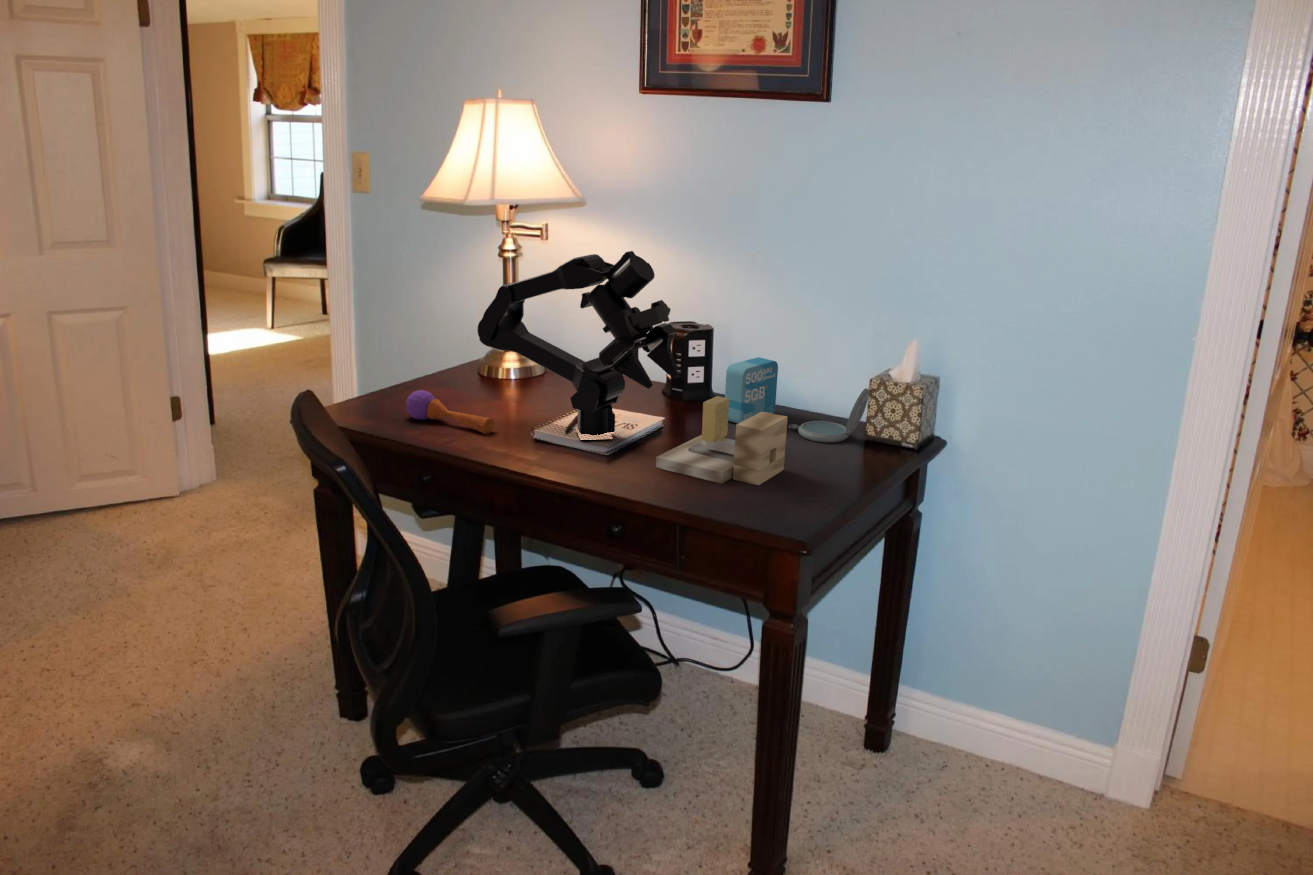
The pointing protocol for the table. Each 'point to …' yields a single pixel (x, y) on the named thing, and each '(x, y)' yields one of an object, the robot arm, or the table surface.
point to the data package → (751, 388)
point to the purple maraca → (443, 412)
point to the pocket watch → (834, 424)
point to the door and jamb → (751, 461)
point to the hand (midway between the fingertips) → (663, 382)
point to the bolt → (716, 425)
